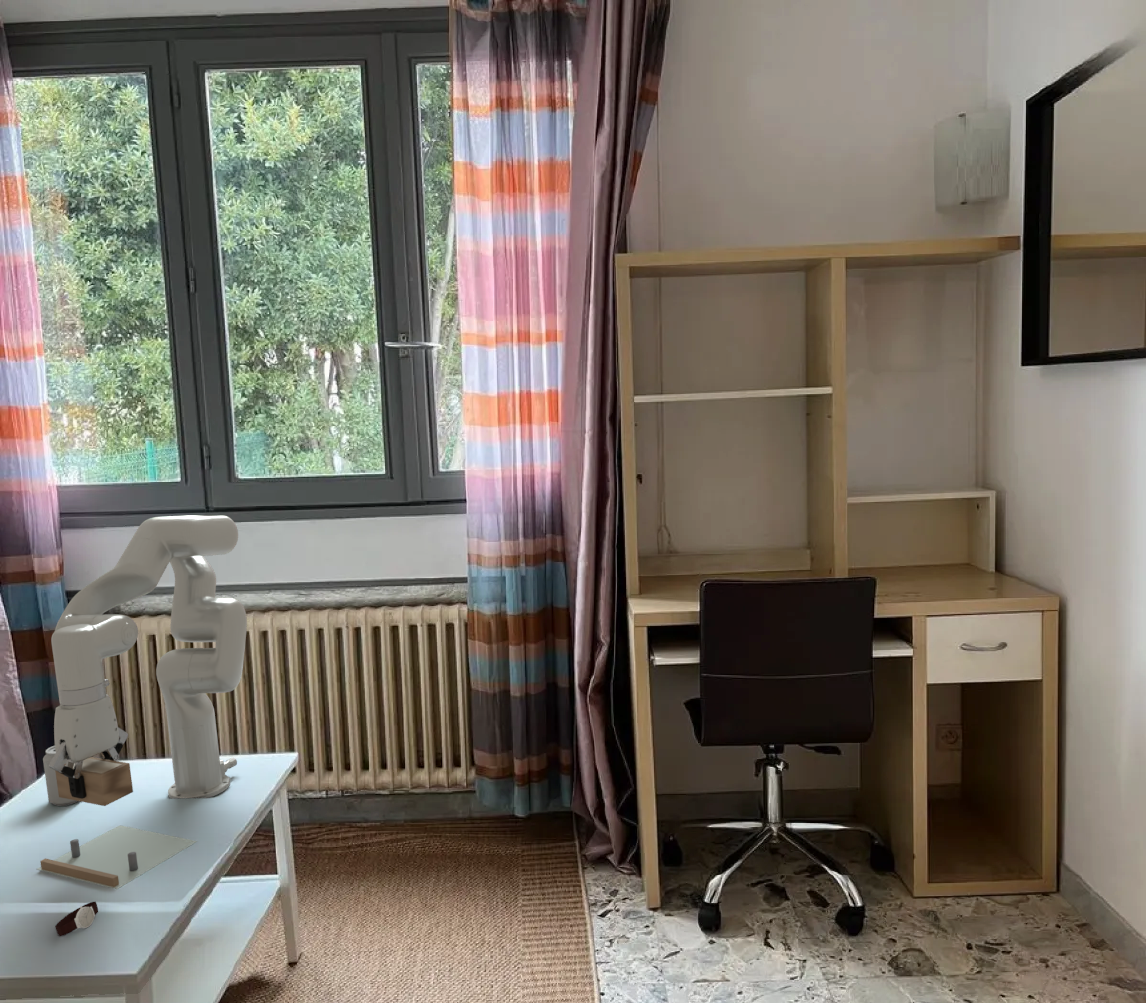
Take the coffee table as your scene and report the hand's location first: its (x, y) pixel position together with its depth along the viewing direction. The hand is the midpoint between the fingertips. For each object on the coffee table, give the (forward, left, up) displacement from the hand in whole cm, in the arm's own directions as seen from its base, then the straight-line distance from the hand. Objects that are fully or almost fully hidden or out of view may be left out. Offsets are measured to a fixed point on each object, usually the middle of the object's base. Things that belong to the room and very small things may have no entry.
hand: (95, 788), depth 174 cm
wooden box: (0, 0, -1) cm, 1 cm away
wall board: (-3, 0, -15) cm, 16 cm away
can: (-19, -35, -16) cm, 43 cm away
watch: (+15, +12, -16) cm, 25 cm away
